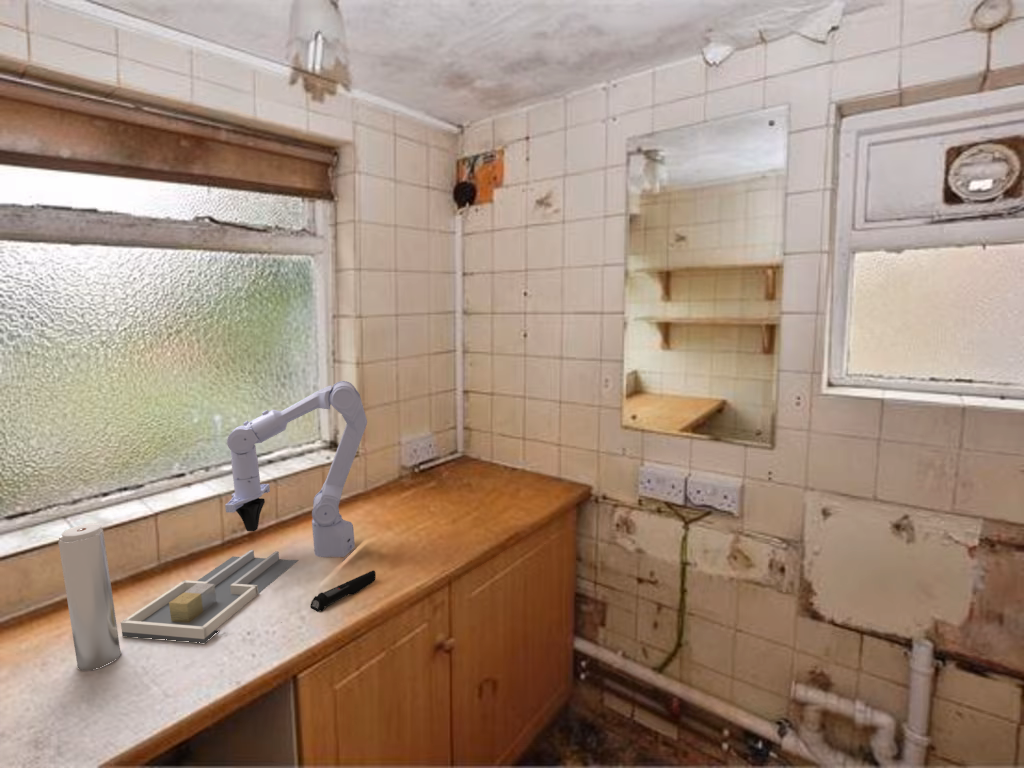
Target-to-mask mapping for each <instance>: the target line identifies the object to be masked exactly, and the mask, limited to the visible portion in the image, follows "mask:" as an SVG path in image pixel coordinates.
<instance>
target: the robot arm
mask: <svg viewBox="0 0 1024 768" xmlns="http://www.w3.org/2000/svg"><path fill="white" fill-rule="evenodd" d="M331 406H332V407H333V408H334V410H335V411H337V412H338V413H339V414H341V417H342V418H343V419H344V421H345V423H346V424H345V427H344V430H343V433H342V435H341V438H340V441H339V443H338V445H337V449H336V452H335V453H334V457H333V459H332V462H331V465H330V468H329V471H328V473H327V476H326V479H325V481H324V483H323V484H322V486H321V489H320V491H319V492H318V493H316V494H315V496H314V497H313V501H312V502H313V503H312V505H313V508H312V511H311V517H312V520H311V527H312V537H313V538H312V540H313V541H312V542H313V550H314V555H315V556H316V557H320V558H329V557H330V558H331V557H333V558H343V560H342V562H344V561H345V560H346V559H347V558H348V557H349V556H350V555H351V554H352V553H353V552H354V551H355V550H356V549H357V547H356V545H355V532H354V526H353V525H354V524H353V523H352V521H349V520H345V519H343V517H342V514H340V509H339V507H340V506H339V505H340V502H341V498H342V494H343V490H344V487H345V484H346V481H347V479H348V476H349V473H350V471H351V468H352V465H353V462H354V460H355V457H356V454H357V451H358V449H359V446H360V444H361V441H362V438H363V435H364V433H365V429H366V428H367V425H368V419H367V415H366V412H365V408H364V405H363V402H362V398H361V393H359V392H358V390H357V389H356V387H355V386H354V385H353V384H352V383H351V382H349V381H345V380H342V381H340V380H339V381H338V382H335V383H334V384H333V385H327V386H325V387H323V388H321V389H318V390H317V391H315V392H312V393H311V394H310V395H308V396H305V397H304V398H302V399H301V400H299V401H297V402H295V403H293V404H292V405H290V406H288V407H286V408H284V409H283V410H277V409H271V410H268V409H265V410H264V411H262V412H261V415H260V416H258V417H256V418H254V419H251V420H250V421H249V420H245V421H244V422H243V423H242V424H243V425H238V426H237V427H235V428H234V429H233V430H232V431H231V433H230V434H229V435H228V436H227V440H226V442H227V443H226V444H227V447H228V449H229V451H230V456H231V457H230V458H231V459H230V461H231V462H230V464H231V469H232V479H233V480H232V481H233V489H234V492H233V493H232V494H230V495H231V499H230V500H229V501H228V502H227V503H225V505H224V506H225V513H235V512H236V513H237V514H238V515H239V517H240V518H241V520H242V522H243V525H244V528H245V529H246V531H247V532H255V531H257V530H258V528H259V522H260V517H261V512H262V509H263V507H264V505H265V502H266V500H265V498H261V497H262V496H263V495H264V494H268V493H269V492H271V489H270V484H269V483H261V477H260V476H261V475H260V468H259V467H260V466H259V460H258V455H257V447H256V446H257V445H256V444H262V443H264V442H265V441H267V440H269V439H271V438H273V437H275V436H277V435H279V434H280V433H282V432H285V431H286V429H287V427H288V423H290V422H292V421H294V420H296V419H298V418H300V417H303V416H305V415H306V414H308V413H311V412H313V411H314V410H318V409H321V410H322V409H323V410H331Z"/></svg>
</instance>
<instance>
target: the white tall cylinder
mask: <svg viewBox="0 0 1024 768" xmlns="http://www.w3.org/2000/svg"><path fill="white" fill-rule="evenodd" d="M58 539H59V540H58V541H57V542H58V543H57V544H58V548H59V549H58V550H59V553H60V554H59V556H60V560H61V561H60V562H61V569H62V575H63V580H64V582H63V583H64V586H65V587H64V588H65V594H66V600H67V606H68V614H69V620H70V626H71V632H72V638H73V639H72V640H73V645H74V652H75V653H74V654H75V657H76V664H77V669H78V668H79V669H80V671H82V670H91V671H94V670H93V669H96V668H100V667H102V666H104V665H106V664H108V663H110V662H112V661H114V660H115V659H117V658H118V657H119V658H120V656H121V655H120V654H121V653H122V651H121V650H122V649H121V645H120V639H119V632H118V625H117V624H118V623H117V617H116V611H115V604H114V598H113V597H114V596H113V589H112V584H111V583H112V582H111V575H110V568H109V562H108V554H107V547H106V541H105V533H104V529H103V527H102V525H101V524H100V523H86V524H79V525H77V526H73V527H70V528H68V529H65V530H64V531H63V532H62V533H61V536H60V537H59V538H58ZM119 655H120V656H119ZM119 658H118V659H119ZM118 659H117V660H118ZM115 661H116V660H115ZM115 661H114V662H115ZM102 668H103V667H102ZM79 669H78V670H79ZM100 669H101V668H100ZM96 670H97V669H96Z"/></svg>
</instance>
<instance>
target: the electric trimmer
mask: <svg viewBox="0 0 1024 768" xmlns="http://www.w3.org/2000/svg"><path fill="white" fill-rule="evenodd" d="M375 581H376V570H371V571H369V572H366V573H364V574H362V575H359V576H357V577H355V578H353V579H350V580H348V581H345V583H342V584H339V585H337V586H335V587H333V588H331V589H329V590H326V591H324V592H319V593H318V595H315V596H314V597H313V599H312V600H311V603H310V609H312V610H313V611H314V612H317V613H319V612H323V611H324V610H325V608H326V607H328V606H330V605H332V604H334V603H336V602H337V601H339V600H341V599H343V598H346V597H348V596H351V595H355V594H357V593H359V592H360V591H362V590H364V589H365V588H367V587H368V586H370V585H371V584H372V583H374V582H375Z"/></svg>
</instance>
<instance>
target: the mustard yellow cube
mask: <svg viewBox="0 0 1024 768" xmlns="http://www.w3.org/2000/svg"><path fill="white" fill-rule="evenodd" d="M169 607H170V615H171V621H174V622H186V623H189V622H191V621H192V620H193V619H194V618H196V617H197V616H198V615H200V614H201V613H202V612H203V606H202V598H201V594H198V593H182V594H181V595H179V596H178V597H176V598H175V599H174V600H172V601H171V602H169Z"/></svg>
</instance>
